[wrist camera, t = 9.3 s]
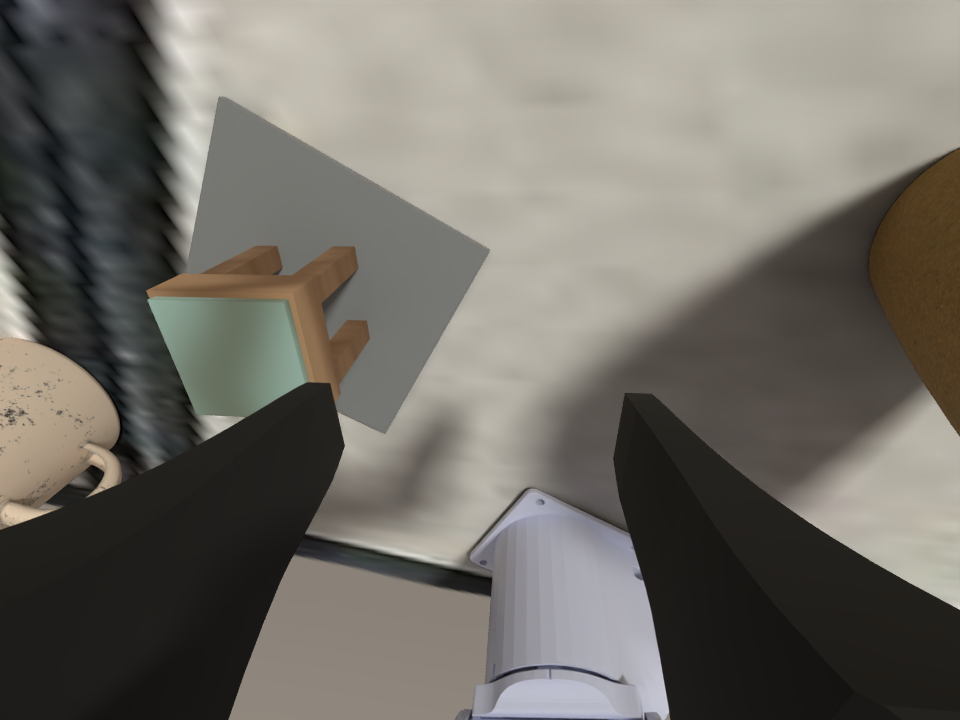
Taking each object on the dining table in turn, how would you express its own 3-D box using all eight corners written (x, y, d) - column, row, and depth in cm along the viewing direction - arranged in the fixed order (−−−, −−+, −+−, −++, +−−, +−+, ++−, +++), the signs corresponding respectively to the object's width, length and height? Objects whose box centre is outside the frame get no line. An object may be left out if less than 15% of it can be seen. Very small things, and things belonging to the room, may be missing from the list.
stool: (358, 241, 19) (288, 297, 13) (374, 342, 21) (320, 424, 16) (250, 241, 19) (139, 293, 14) (278, 339, 22) (193, 418, 16)
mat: (489, 249, 19) (489, 252, 19) (387, 429, 25) (385, 433, 24) (224, 96, 17) (218, 96, 17) (179, 331, 23) (174, 334, 22)
